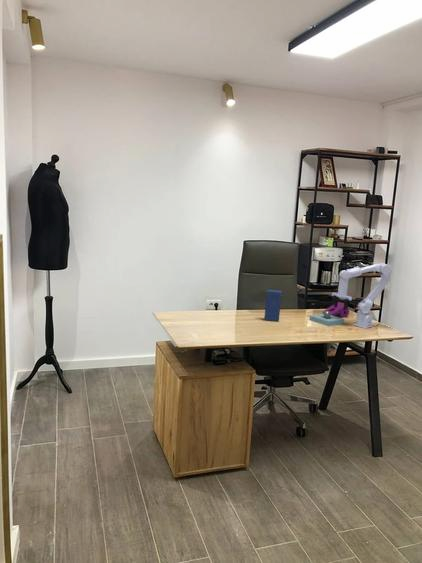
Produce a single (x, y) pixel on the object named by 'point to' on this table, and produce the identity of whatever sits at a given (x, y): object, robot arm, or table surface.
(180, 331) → the table surface
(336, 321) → the plate
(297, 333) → the table surface
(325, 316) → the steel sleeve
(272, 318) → the electronic device
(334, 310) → the purple faceted block
